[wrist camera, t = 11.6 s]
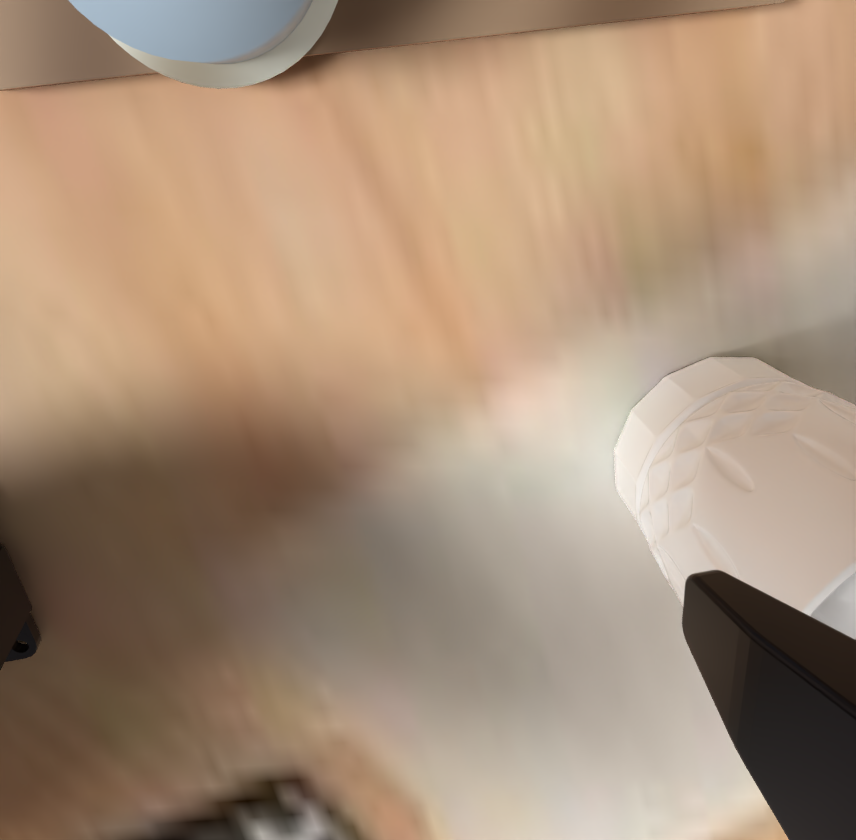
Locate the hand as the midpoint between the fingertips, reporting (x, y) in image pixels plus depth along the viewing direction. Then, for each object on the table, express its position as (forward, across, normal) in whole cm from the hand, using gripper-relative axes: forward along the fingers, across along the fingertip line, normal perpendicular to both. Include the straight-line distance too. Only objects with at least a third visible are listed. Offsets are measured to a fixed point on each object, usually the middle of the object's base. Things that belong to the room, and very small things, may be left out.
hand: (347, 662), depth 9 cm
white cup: (+13, -12, +6) cm, 19 cm away
